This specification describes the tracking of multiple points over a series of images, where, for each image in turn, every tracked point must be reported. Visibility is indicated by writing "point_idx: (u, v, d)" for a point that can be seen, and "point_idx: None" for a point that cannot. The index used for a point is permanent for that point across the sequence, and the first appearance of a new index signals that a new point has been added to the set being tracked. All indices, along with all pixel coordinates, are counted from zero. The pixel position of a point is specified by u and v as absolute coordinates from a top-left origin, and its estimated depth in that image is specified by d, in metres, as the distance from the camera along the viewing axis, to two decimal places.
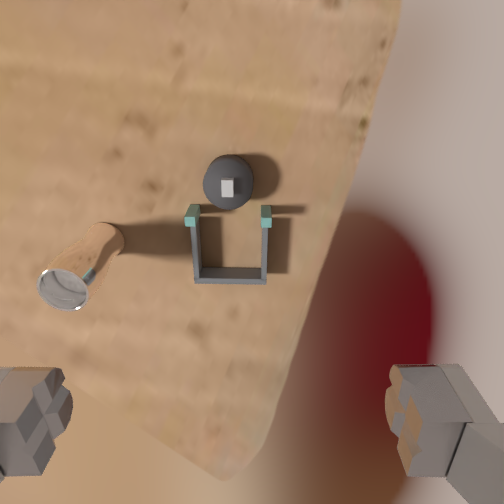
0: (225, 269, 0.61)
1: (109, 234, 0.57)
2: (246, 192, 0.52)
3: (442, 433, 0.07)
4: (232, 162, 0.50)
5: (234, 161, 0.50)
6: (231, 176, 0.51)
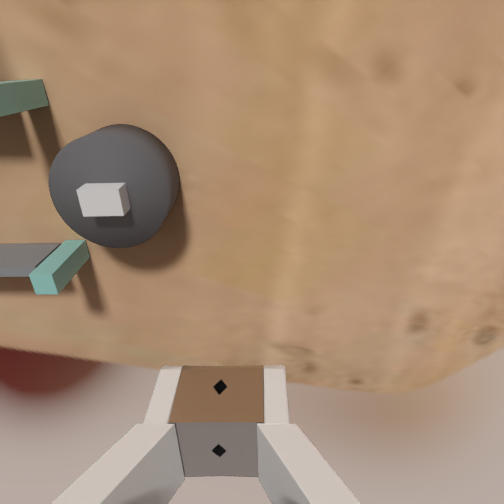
0: None
1: None
2: (102, 235, 0.23)
3: (239, 433, 0.07)
4: (165, 205, 0.22)
5: (167, 207, 0.23)
6: (132, 204, 0.22)
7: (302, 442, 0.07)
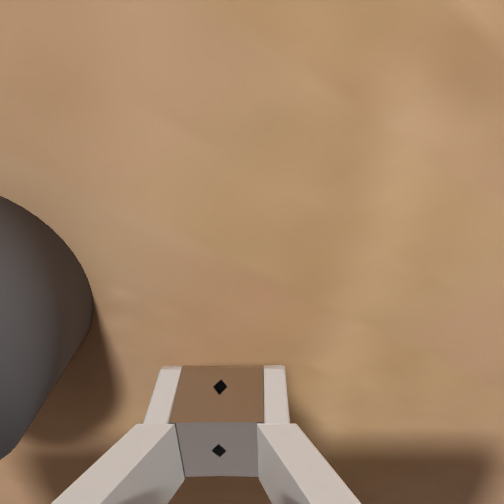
0: None
1: None
2: None
3: (239, 433, 0.07)
4: (21, 405, 0.09)
5: (36, 398, 0.09)
6: None
7: (302, 442, 0.07)
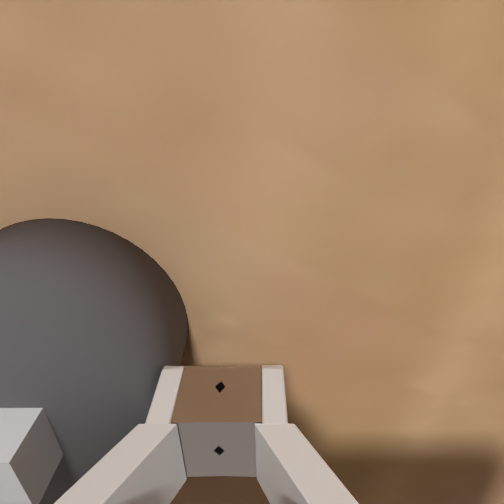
0: None
1: None
2: None
3: (237, 433, 0.07)
4: None
5: None
6: (68, 447, 0.08)
7: (300, 442, 0.07)
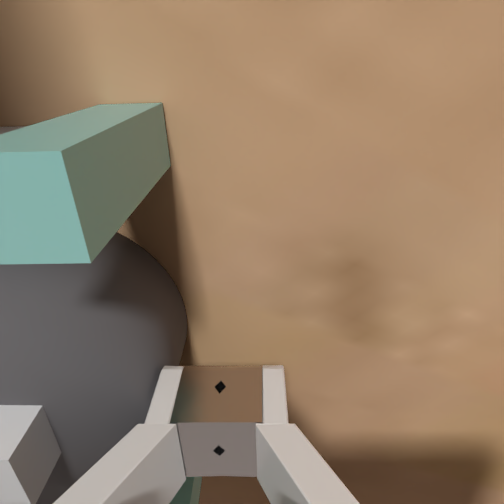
0: None
1: None
2: None
3: (237, 433, 0.07)
4: None
5: None
6: (66, 445, 0.08)
7: (300, 442, 0.07)
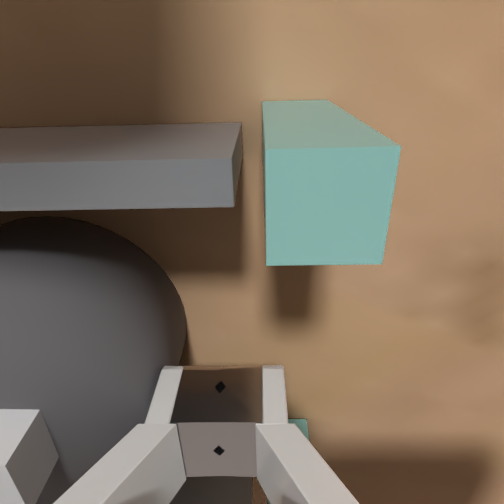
0: None
1: None
2: None
3: (237, 433, 0.07)
4: None
5: None
6: (64, 449, 0.08)
7: (300, 442, 0.07)
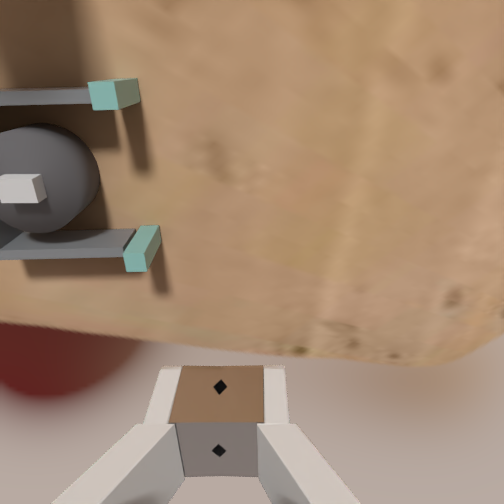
0: None
1: None
2: (23, 221, 0.26)
3: (239, 433, 0.07)
4: (78, 195, 0.25)
5: (81, 196, 0.26)
6: (48, 193, 0.25)
7: (302, 442, 0.07)
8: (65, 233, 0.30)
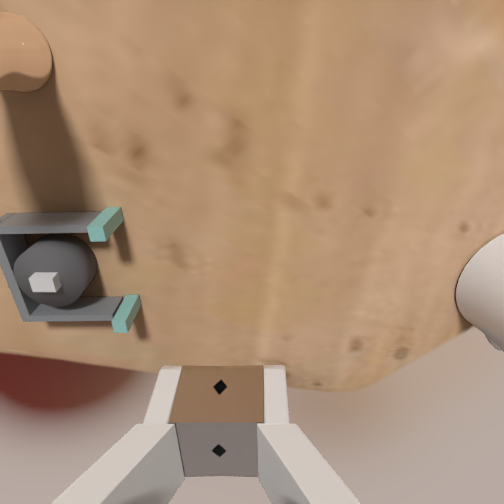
0: None
1: (31, 76, 0.30)
2: (46, 299, 0.39)
3: (239, 433, 0.07)
4: (82, 284, 0.38)
5: (84, 284, 0.39)
6: (63, 283, 0.38)
7: (302, 442, 0.07)
8: None
